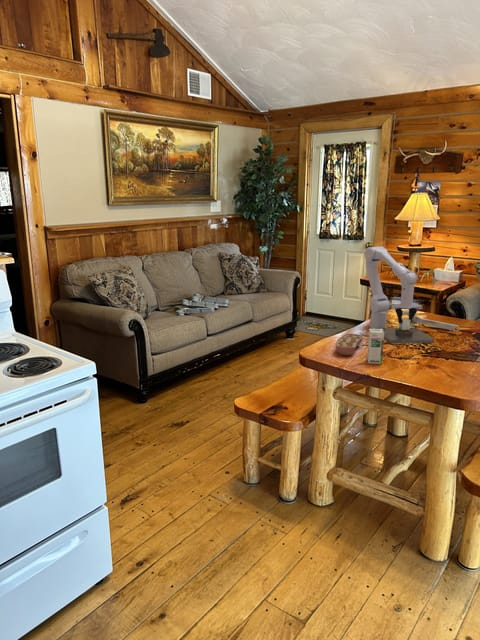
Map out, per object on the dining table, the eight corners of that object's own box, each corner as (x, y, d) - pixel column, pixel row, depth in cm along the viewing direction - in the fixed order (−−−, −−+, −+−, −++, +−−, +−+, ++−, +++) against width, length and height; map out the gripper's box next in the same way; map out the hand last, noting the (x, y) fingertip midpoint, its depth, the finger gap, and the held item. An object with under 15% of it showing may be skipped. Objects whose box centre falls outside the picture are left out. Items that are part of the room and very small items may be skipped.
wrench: (457, 336, 259) (399, 324, 269) (457, 335, 260) (400, 323, 271) (461, 322, 256) (402, 310, 267) (461, 321, 258) (403, 309, 268)
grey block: (398, 327, 250) (399, 317, 248) (406, 327, 250) (407, 317, 249) (401, 330, 246) (402, 319, 244) (409, 330, 246) (410, 319, 245)
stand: (375, 330, 259) (375, 324, 258) (415, 330, 260) (416, 323, 259) (390, 343, 238) (390, 336, 237) (434, 342, 239) (434, 335, 238)
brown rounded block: (352, 359, 216) (353, 348, 215) (331, 356, 220) (331, 345, 219) (363, 345, 236) (364, 335, 235) (343, 342, 240) (344, 332, 239)
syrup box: (368, 363, 210) (370, 331, 206) (367, 359, 216) (369, 327, 212) (382, 364, 210) (384, 332, 206) (380, 359, 215) (382, 328, 211)
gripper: (395, 298, 239) (393, 325, 243) (424, 298, 240) (422, 324, 244) (390, 295, 246) (388, 321, 250) (418, 295, 247) (416, 321, 250)
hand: (404, 322), depth 247 cm, fingers open, 5 cm apart
